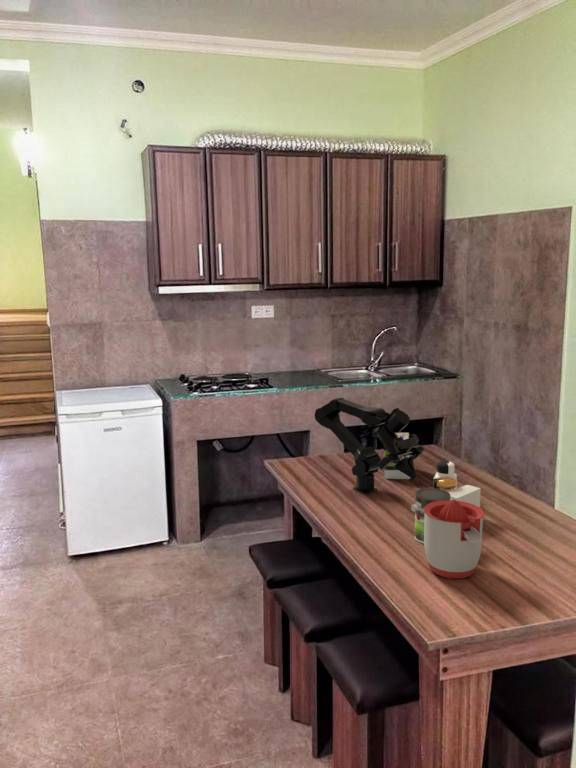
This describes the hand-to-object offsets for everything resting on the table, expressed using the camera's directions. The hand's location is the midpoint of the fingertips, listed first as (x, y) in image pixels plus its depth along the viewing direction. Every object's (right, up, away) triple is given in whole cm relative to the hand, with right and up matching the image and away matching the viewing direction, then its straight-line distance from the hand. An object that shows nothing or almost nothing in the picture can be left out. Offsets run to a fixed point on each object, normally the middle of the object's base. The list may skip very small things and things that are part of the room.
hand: (415, 478), depth 227 cm
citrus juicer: (+2, -19, -46) cm, 49 cm away
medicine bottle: (+13, -8, +12) cm, 19 cm away
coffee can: (0, -15, -24) cm, 29 cm away
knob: (+9, -9, -8) cm, 15 cm away
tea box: (0, -3, +36) cm, 37 cm away
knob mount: (+8, -11, -7) cm, 15 cm away
